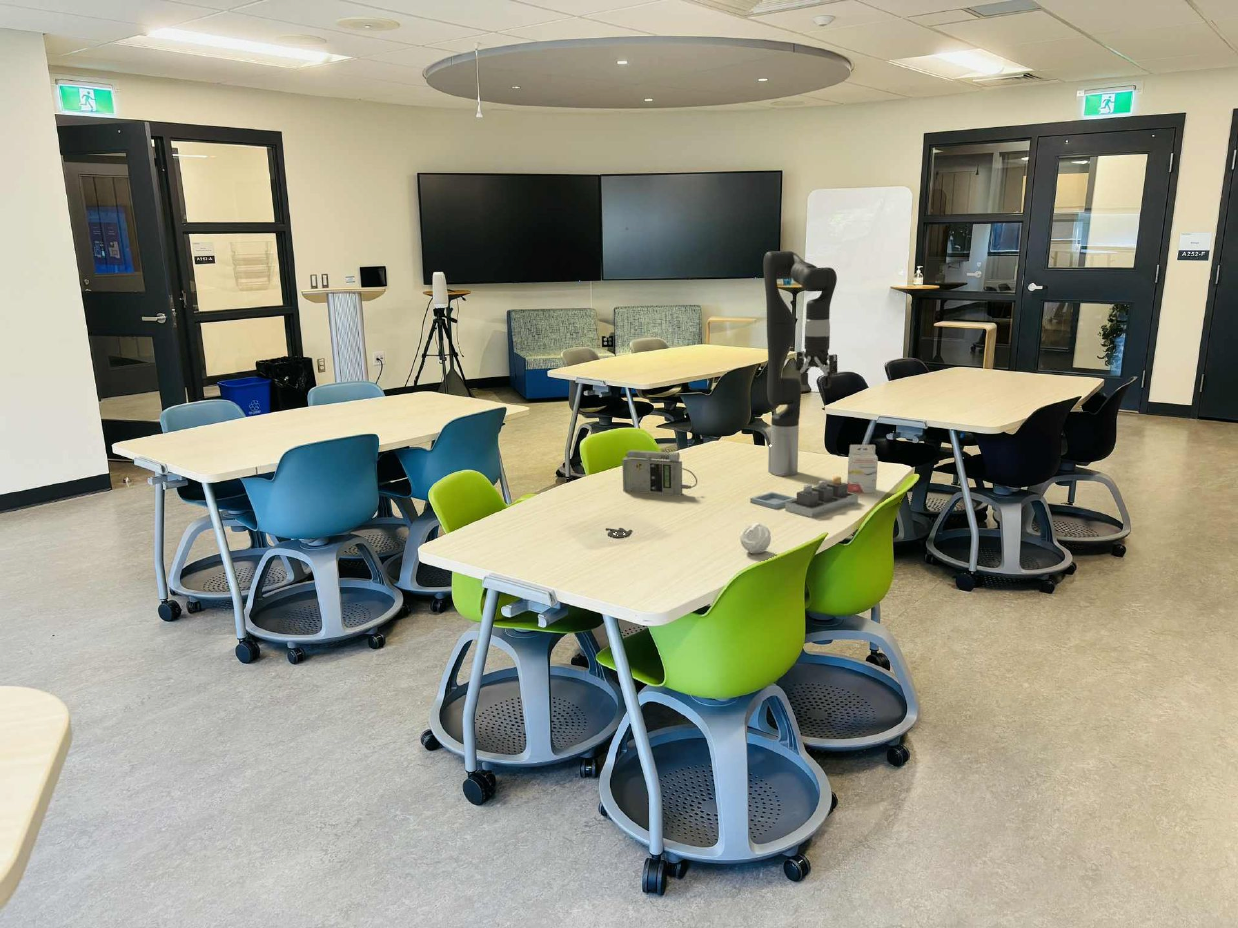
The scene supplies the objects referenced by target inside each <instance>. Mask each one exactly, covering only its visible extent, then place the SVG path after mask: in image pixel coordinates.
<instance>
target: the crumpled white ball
mask: <svg viewBox="0 0 1238 928" xmlns="http://www.w3.org/2000/svg"><path fill="white" fill-rule="evenodd" d="M771 533H772V532H771V531H770V530H769V528H768V527H767V526H766V525H765V524H761V523H760V522H755V523H751V524H749V525H747V526H746V527H744V529H743V530H742V531H741V533H740V536H739V539H740V544H741V546H742V547H743V548H744V550H745V551H747V552H749V553H751V554H761V553H763V552H765V551H767V549H768V547H769V546H770V544H771V541H772V540H771V539H772V537H771V536H772V535H771Z"/></svg>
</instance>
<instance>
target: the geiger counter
mask: <svg viewBox="0 0 1238 928" xmlns="http://www.w3.org/2000/svg"><path fill="white" fill-rule="evenodd" d="M680 455H681V454H680V452H679V451H678V452H677V451H670V452H666V451H665V452H664V451H663V452H662V451H649V450H634V449H633V450H632V449H631V450H630V449H629V450H628V451H627V452H626V453H625V457H623V458H622V462H621V463H622V491H623V492H630V493H631V492H632V493H641V494H643V493H644V494H654V495H665V496H677V497H679V496H682V494H683V489H685V490H688V489H689V490H691V489H692V488H694V487H696V486H697V485H698V479H697V476H696V475H695V474H694V472H692V471H691V470H689V469H687V468H684V467H683V461H682V460H680V457H681V456H680ZM683 470H684V471H686V472H689V473H690V474H691V475H692V476H693V477H694V479H695V484H694V485H690V484H689V485H688V484H683Z"/></svg>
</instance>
